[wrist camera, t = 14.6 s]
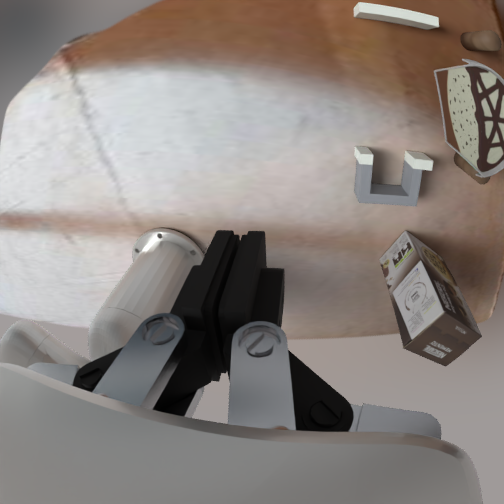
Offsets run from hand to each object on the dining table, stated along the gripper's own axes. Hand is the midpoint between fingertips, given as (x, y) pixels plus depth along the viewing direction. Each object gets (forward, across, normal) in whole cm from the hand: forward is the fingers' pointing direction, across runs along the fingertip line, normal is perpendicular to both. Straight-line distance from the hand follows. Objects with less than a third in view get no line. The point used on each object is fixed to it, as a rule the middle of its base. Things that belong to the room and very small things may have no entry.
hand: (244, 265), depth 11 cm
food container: (+27, -22, -5) cm, 36 cm away
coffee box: (+27, -19, +18) cm, 38 cm away
